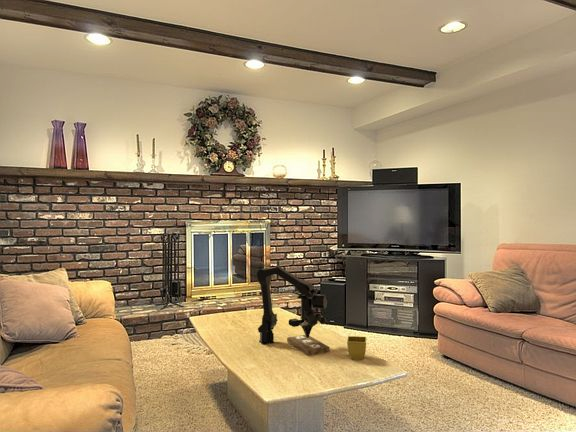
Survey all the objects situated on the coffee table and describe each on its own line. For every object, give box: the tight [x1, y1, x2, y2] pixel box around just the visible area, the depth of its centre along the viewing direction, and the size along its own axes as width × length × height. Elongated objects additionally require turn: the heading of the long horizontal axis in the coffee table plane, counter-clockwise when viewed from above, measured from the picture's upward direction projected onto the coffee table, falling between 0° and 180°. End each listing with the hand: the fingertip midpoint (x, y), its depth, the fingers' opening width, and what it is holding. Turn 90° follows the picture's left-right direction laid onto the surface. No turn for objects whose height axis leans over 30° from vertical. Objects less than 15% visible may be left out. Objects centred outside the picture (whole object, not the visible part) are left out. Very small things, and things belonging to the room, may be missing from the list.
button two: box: [302, 340, 313, 344], centre depth 214 cm, size 4×4×3 cm
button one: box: [295, 335, 305, 340], centre depth 222 cm, size 4×4×3 cm
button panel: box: [286, 334, 330, 357], centre depth 214 cm, size 12×25×2 cm, turn 24°
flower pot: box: [346, 335, 367, 361], centre depth 195 cm, size 9×9×9 cm
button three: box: [310, 344, 320, 348], centre depth 207 cm, size 4×4×3 cm
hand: (307, 337), depth 214 cm, fingers closed
